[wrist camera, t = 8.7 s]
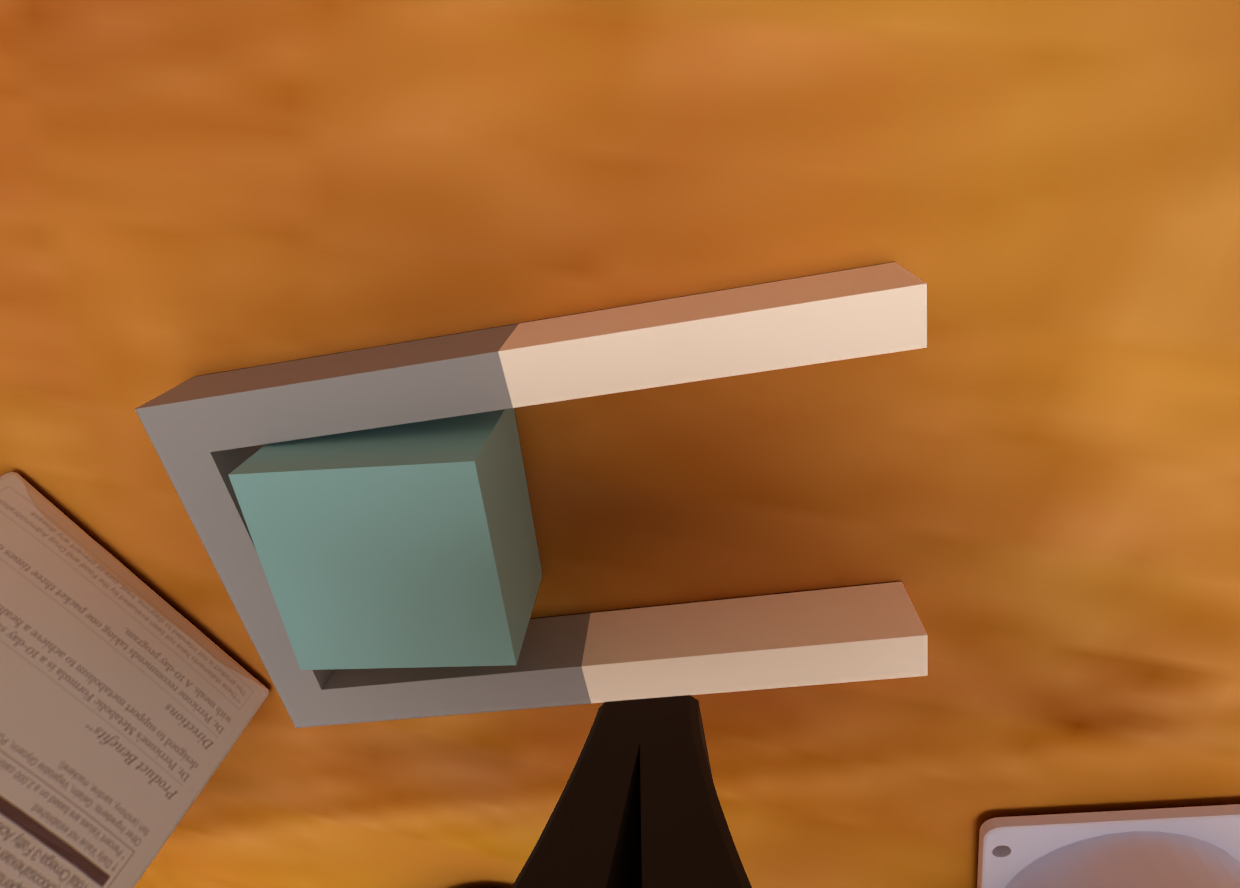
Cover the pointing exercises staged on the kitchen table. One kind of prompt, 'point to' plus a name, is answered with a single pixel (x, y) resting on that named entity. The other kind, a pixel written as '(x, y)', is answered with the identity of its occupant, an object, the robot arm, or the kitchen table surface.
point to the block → (397, 542)
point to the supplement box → (98, 706)
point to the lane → (536, 374)
